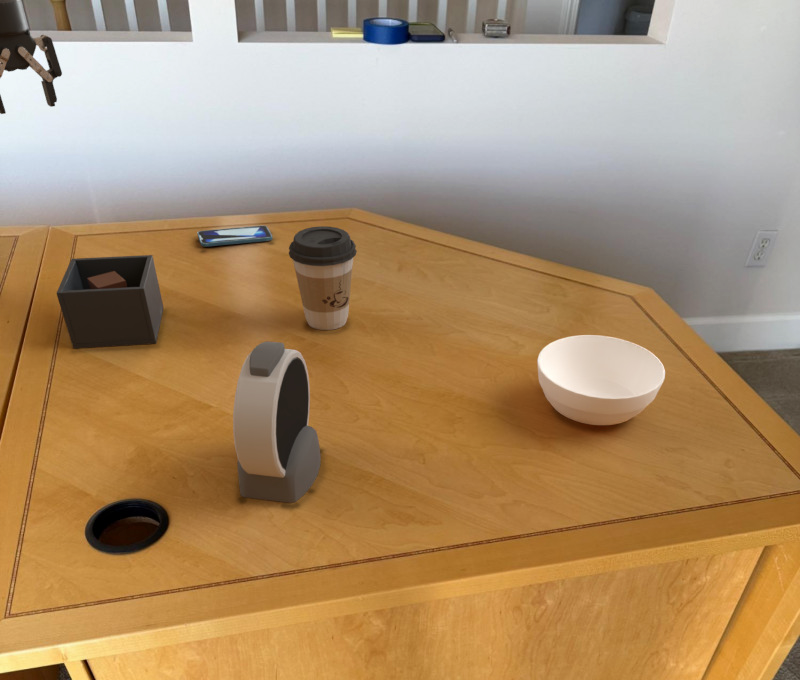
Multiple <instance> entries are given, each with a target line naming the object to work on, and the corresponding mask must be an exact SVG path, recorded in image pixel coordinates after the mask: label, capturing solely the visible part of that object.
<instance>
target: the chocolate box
mask: <svg viewBox="0 0 800 680" xmlns="http://www.w3.org/2000/svg"><path fill="white" fill-rule="evenodd" d="M87 280H88V283H89V287H90V289H108V288H127V284H126V280H124V279H123V278H122V277H121V276H120V275H119V274H117V273H116V272H115V271H112V272H109V273H105V274H101V275H97V276H93V277H89V278H87Z"/></svg>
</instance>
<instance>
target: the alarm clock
mask: <svg viewBox="0 0 800 680" xmlns="http://www.w3.org/2000/svg"><path fill="white" fill-rule="evenodd" d="M310 387H311V386H310V377H309V370H308V367H307V363H306V360H305V358H304V357H303V354H302V352H300V351H298V350H297V349H291V348H285V344H284V342H279V341H278V342H277V341H267V340H266V341H264V342H260V343H259V344H258V345H256V346H255V347H254V348H253V349H252V350H251V351H250V353H249V354H248V355H247V356H246V358H245V359H244V361H243V364H242V366H241V368H240V372H239V376H238V379H237V384H236V389H235V394H234V400H233V401H234V402H233V412H232V420H233V421H232V432H233V441H234V449H235V454H236V457H237V477H238V484H239V492H240V496H241V497H243V498H247V499H255V500H263V501H273V502H281V503H289V504H292V503H296V502H298V501H299V500H300V499H301V498H302V497H304V495H306V493H307V492H308V491H309V490H310V488H311V487H312V486H313V485H314V483H315V481H316V479H317V477H318V475H319V472H320V469H321V460H322V459H321V458H322V457H321V448H320V447H321V446H320V440H319V436H318V432H317V430H316V429H315V428H314V427H313V426H311V425H309V420H310V409H311V408H310V404H311V391H310Z"/></svg>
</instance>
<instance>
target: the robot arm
mask: <svg viewBox="0 0 800 680" xmlns="http://www.w3.org/2000/svg"><path fill="white" fill-rule="evenodd" d="M37 47H38V48H39V50H40V51H41V52H43V53H44V56H45V59H46V62H47V65H48V69H47V70H46V69H45V68H44V66H43V65H42V64H41V63H40V62H39V61H38V60H37V59H36V58H34V54H35V52H36V48H37ZM29 67H30V69H32V70H33V71H34V72H35V73H36V74H37V75H38V76H39V77H40V78H41V79H42V80H41V81H40V82H41V86H42V89H43V90H42V91H43V93H44V96H45V101H46V104H47V106H49V107H51V108H52V107H56V103H57V102H58V101H57V100H58V97H57V93H56V90H55V86H54V80H55V79H57V78H60V77H61V76H62V75H63V71H62V68H61V65H60V61H59V58H58V54H57V52H56V49H55V45H54V42H53V40H52V38H51V37H49V36H48V35H46V34H41V35H40V36H38V37H33V36H32V34H31V31H30V28H29V24H28V20H27V17H26V13H25V9H24V5H23V1H22V0H0V79H1V78H2V77H3V75H4V71H6V72H8V73H9V72H15V71H16V70H20V71H21V70H22V71H23V70H28V68H29ZM6 113H7V112H6V109H5V105H4V101H3V99H2V96H1V94H0V115H5V114H6Z"/></svg>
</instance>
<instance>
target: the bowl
mask: <svg viewBox="0 0 800 680" xmlns="http://www.w3.org/2000/svg"><path fill="white" fill-rule="evenodd" d="M537 356H538V357H537V360H536V363H537V364H536V365H537V376H538V383H539V386H540V387H541V389H542V392H543V394H544V397H545V399H546V400H547V401H548V403H549V404H550V405H551V406H552V407H553V408H554V410H555V411H556V412H558V413H559V414H560V415H562V416H564V417H566V418H568V419H570V420H573V421H575V422H578V423H581V424H585V425H592V426H612V425H618V424H622V423H625V422H627V421H629V420H631V419H633V418H634V417H636V416H638V415H639V414H641V413H642V412H643V411H644V410H645V409H646V408H647V406H649V405H650V404H651V403H652V402H654V400H655V399H656V397H657V395H658V393H659V391H660V389H661V387H662V386H663V383H664V381H665V380H666V379H665V378H666V369H665V366H664V364H663V363H662V361H661V360H660V358H658V357H657V355H655V354H654V353H653V352H652V351H650V350H649V349H647V348H645V347H644V346H641V345H639V344H636V343H634V342H632V341H628V340H626V339H622V338H618V337H614V336H607V335H599V334H598V335H597V334H596V335H595V334H584V335H583V334H581V335H572V336H565V337H563V338H559V339H556V340H554V341H552V342H550V343H548V344H547V345H546V346H544V347H543V348H542V349H541V350H540V352H539V354H538V355H537Z"/></svg>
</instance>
